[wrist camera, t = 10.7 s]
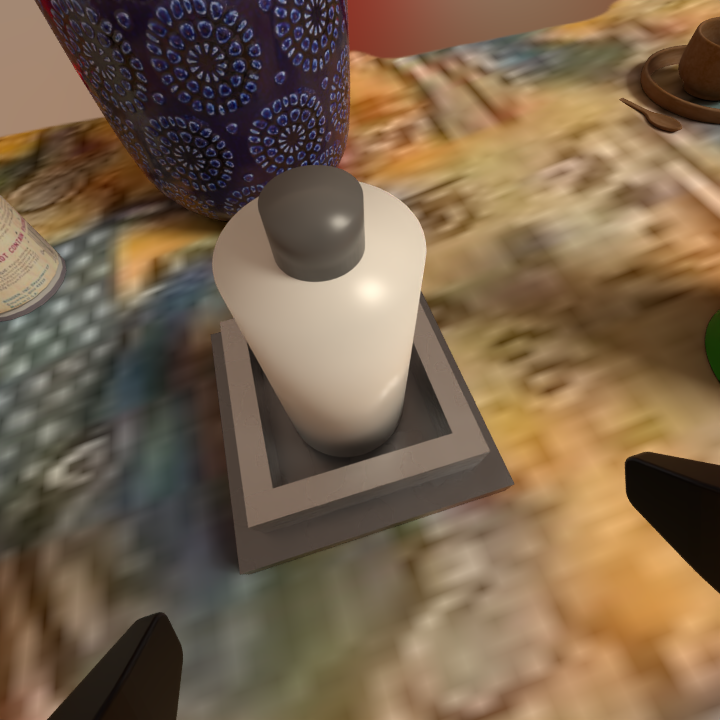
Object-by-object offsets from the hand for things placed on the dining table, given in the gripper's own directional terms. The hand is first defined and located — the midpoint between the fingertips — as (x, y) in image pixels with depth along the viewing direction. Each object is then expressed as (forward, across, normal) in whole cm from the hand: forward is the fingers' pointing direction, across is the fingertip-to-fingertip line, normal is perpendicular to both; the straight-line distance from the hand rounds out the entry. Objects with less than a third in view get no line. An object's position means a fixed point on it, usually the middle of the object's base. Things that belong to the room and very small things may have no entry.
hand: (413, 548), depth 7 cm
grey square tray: (+14, 0, +3) cm, 15 cm away
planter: (+30, +2, -13) cm, 33 cm away
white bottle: (+13, 0, +2) cm, 13 cm away
